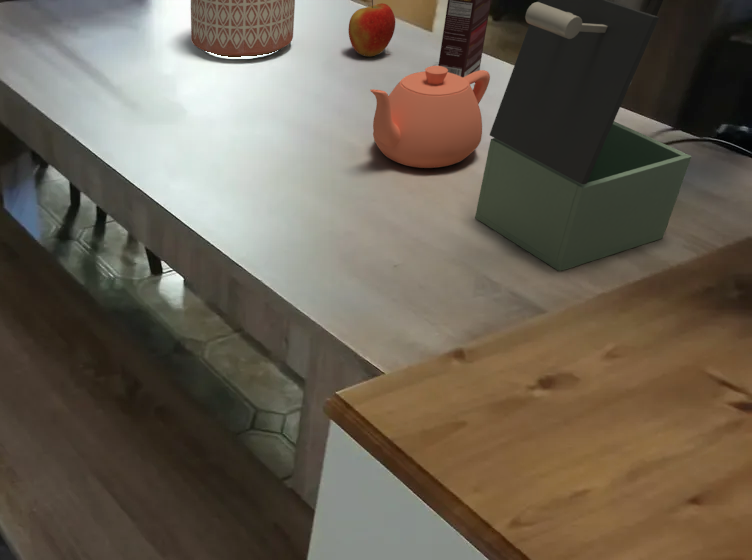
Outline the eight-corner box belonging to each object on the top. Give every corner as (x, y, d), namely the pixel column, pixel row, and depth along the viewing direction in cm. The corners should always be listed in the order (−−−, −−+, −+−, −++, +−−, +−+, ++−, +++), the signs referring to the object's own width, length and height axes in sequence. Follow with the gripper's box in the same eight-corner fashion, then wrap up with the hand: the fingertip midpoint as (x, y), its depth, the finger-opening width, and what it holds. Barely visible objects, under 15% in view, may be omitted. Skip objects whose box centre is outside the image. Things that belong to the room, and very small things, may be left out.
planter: (239, 23, 186) (241, -59, 176) (313, 43, 175) (319, -42, 165) (170, 48, 177) (168, -37, 167) (243, 71, 166) (245, -18, 156)
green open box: (572, 189, 127) (593, 111, 120) (662, 238, 116) (692, 156, 109) (474, 217, 122) (490, 138, 115) (559, 271, 112) (582, 188, 104)
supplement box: (453, 66, 163) (469, -32, 153) (480, 70, 161) (498, -29, 150) (433, 82, 158) (449, -19, 148) (460, 87, 156) (478, -15, 145)
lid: (550, -20, 105) (504, -24, 102) (659, 17, 94) (611, 13, 91) (493, 135, 115) (450, 135, 112) (586, 184, 104) (541, 185, 101)
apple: (365, 65, 166) (372, 5, 159) (337, 52, 171) (342, -6, 164) (400, 55, 168) (408, -3, 162) (372, 43, 174) (378, -14, 167)
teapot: (395, 192, 129) (407, 104, 121) (328, 154, 139) (335, 70, 131) (512, 153, 136) (531, 68, 128) (441, 120, 146) (454, 39, 138)
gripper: (794, -155, 99) (706, 48, 101) (606, -164, 108) (528, 22, 110) (807, -208, 93) (712, 10, 94) (606, -213, 102) (522, -14, 103)
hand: (613, 16), depth 102 cm, fingers closed on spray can, 6 cm apart
